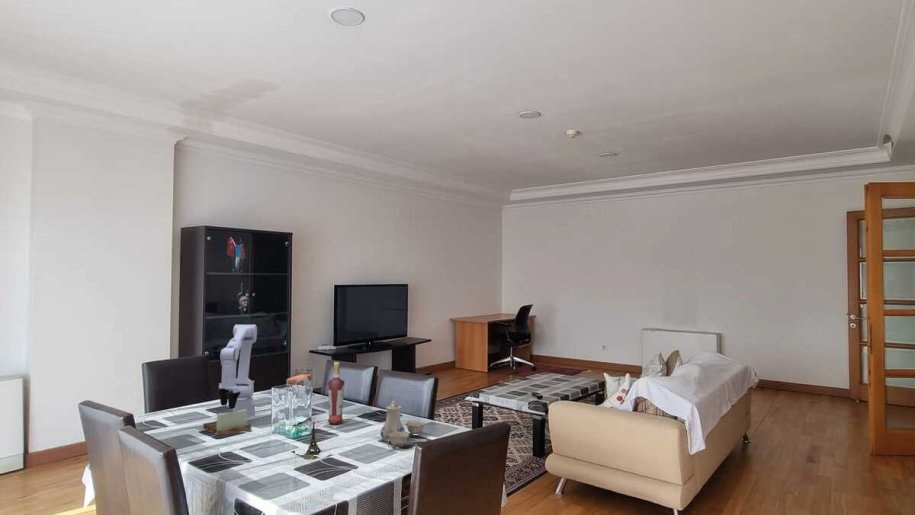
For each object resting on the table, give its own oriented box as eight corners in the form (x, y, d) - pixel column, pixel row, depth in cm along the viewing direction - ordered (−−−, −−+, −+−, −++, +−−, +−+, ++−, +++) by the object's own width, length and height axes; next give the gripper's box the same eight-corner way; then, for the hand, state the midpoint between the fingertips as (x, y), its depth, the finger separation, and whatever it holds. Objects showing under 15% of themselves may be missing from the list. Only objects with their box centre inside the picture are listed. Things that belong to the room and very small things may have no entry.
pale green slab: (244, 427, 233) (244, 409, 234) (246, 428, 232) (247, 410, 232) (216, 433, 225) (217, 414, 225) (218, 434, 223) (219, 414, 224)
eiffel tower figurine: (289, 453, 204) (290, 417, 205) (313, 447, 211) (313, 413, 212) (309, 462, 194) (310, 425, 194) (333, 456, 201) (334, 420, 202)
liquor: (341, 425, 241) (342, 363, 242) (325, 425, 241) (326, 363, 243) (345, 421, 249) (346, 361, 250) (329, 420, 249) (331, 360, 250)
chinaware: (406, 456, 205) (411, 413, 206) (366, 448, 209) (371, 406, 209) (426, 436, 233) (431, 398, 233) (390, 429, 236) (395, 392, 237)
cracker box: (296, 426, 239) (297, 379, 240) (284, 425, 240) (285, 378, 241) (311, 418, 253) (312, 374, 254) (299, 417, 254) (300, 373, 255)
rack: (234, 423, 242) (235, 417, 242) (250, 430, 231) (251, 424, 231) (203, 429, 232) (203, 423, 232) (218, 437, 221) (218, 430, 221)
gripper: (212, 374, 233) (211, 405, 233) (227, 378, 224) (226, 411, 223) (228, 372, 239) (227, 402, 238) (243, 376, 229) (242, 408, 228)
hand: (227, 406), depth 231 cm, fingers open, 7 cm apart
